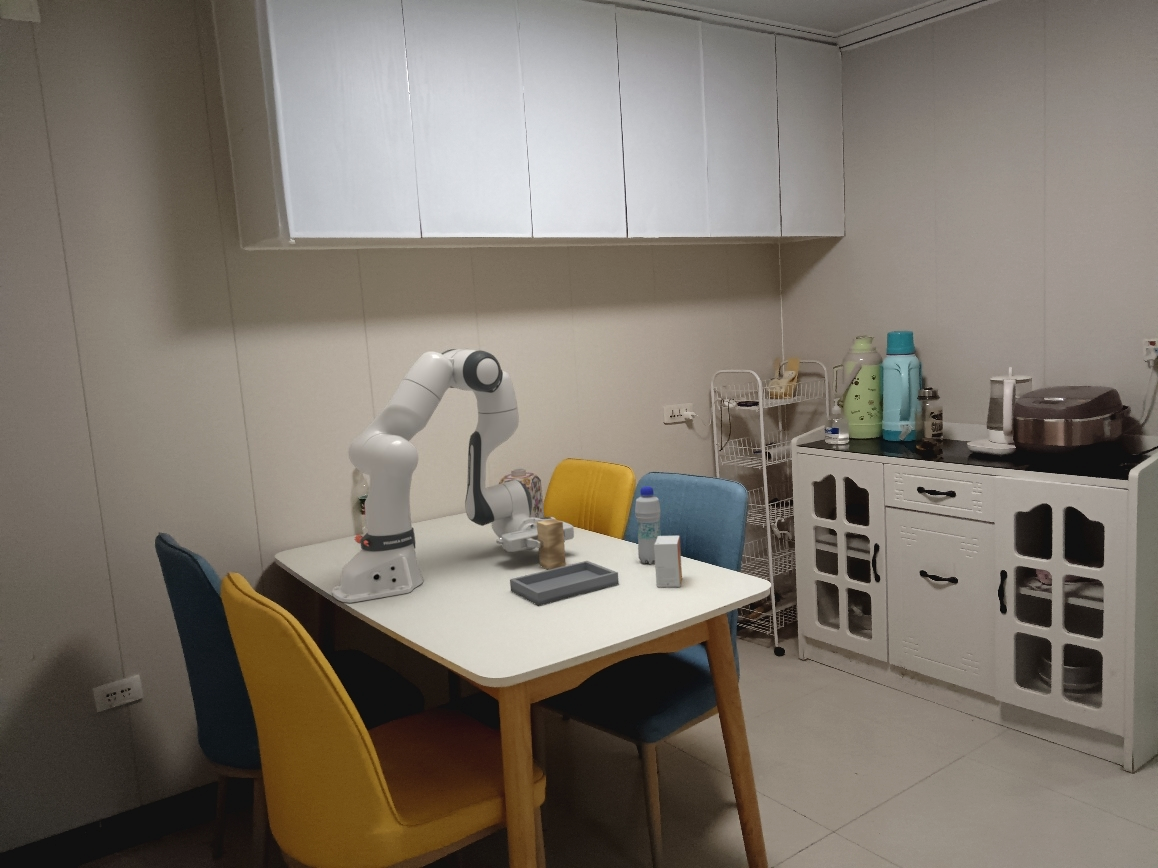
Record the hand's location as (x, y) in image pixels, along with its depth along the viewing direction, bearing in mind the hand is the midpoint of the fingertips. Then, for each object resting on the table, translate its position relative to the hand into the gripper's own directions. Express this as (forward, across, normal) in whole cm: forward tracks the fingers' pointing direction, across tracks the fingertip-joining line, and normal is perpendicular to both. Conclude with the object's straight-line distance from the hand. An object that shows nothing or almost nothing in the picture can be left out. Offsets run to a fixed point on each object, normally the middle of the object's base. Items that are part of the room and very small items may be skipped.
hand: (551, 542), depth 213 cm
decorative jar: (-50, +17, +7) cm, 54 cm away
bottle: (+15, +21, +7) cm, 26 cm away
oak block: (0, 0, +6) cm, 7 cm away
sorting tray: (+18, -7, +7) cm, 20 cm away
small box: (+32, +14, +7) cm, 35 cm away
